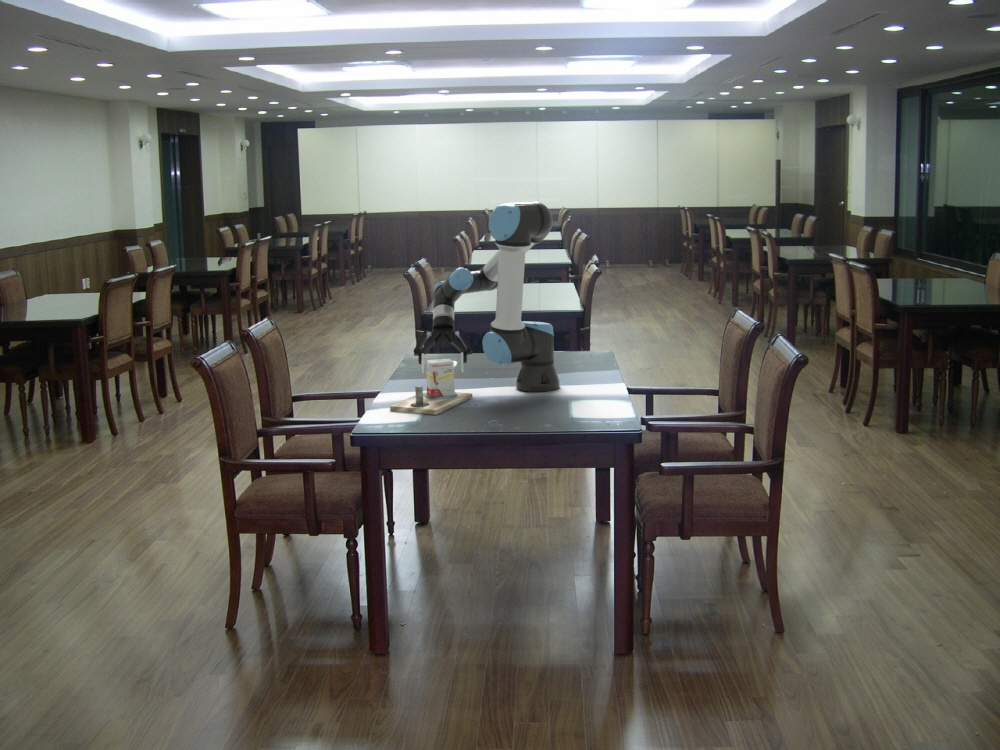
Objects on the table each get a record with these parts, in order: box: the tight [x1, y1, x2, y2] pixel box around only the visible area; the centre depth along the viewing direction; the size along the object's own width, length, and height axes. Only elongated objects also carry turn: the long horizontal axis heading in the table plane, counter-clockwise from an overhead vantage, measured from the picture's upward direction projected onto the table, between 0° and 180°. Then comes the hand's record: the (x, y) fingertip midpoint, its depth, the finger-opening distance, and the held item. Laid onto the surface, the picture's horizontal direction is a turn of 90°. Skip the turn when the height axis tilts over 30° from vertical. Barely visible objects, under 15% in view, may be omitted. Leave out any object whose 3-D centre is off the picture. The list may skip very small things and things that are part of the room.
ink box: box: [425, 357, 456, 397], centre depth 350 cm, size 9×5×12 cm, turn 109°
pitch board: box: [389, 385, 474, 415], centre depth 346 cm, size 17×25×8 cm
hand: (442, 370), depth 361 cm, fingers open, 13 cm apart
